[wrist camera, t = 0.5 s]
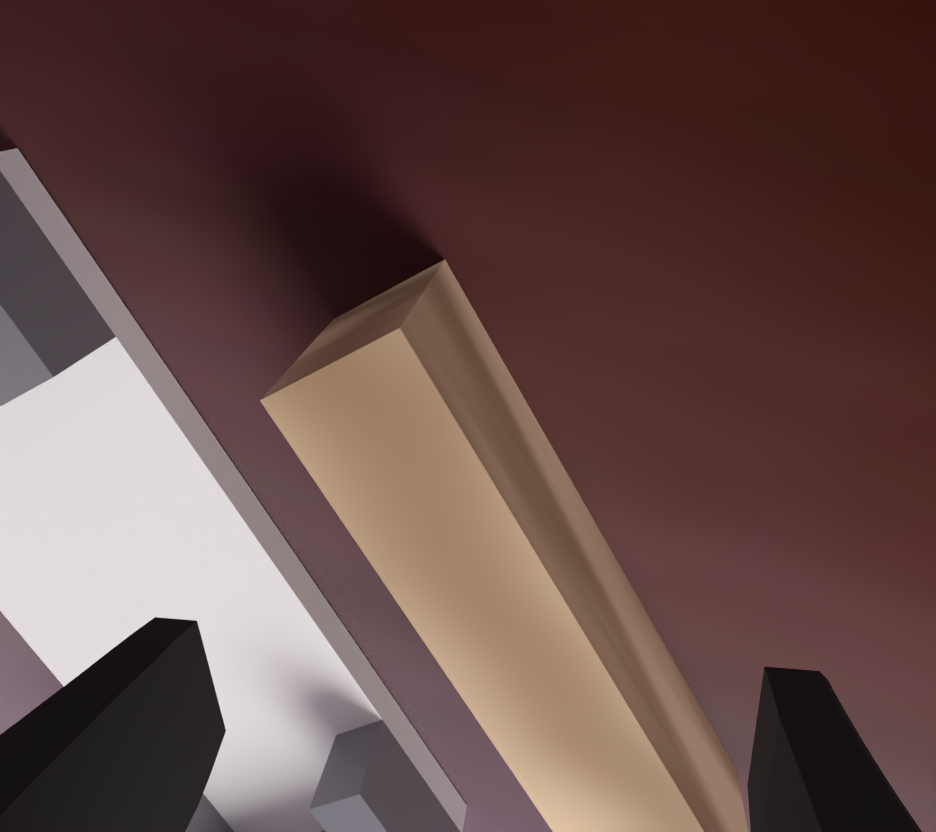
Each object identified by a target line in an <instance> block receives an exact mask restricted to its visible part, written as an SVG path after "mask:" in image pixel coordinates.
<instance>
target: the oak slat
mask: <svg viewBox="0 0 936 832" xmlns="http://www.w3.org/2000/svg"><path fill="white" fill-rule="evenodd" d="M260 401H261V403H262V404H263V406H264V407H265V409H266V410H267V412H268V413H269V415H270V416H271V417H272V419H273V420H274V422H275V423H276V425H277V426H278V428H279V429H280V431H281V432H282V434H283V435H284V437H285V438H286V440H287V441H288V442H289V444H290V445H291V447H292V448H293V450H294V451H295V453H296V454H297V456H298V457H299V459H300V460H301V462H302V463H303V465H304V466H305V467H306V469H307V470H308V472H309V473H310V475H311V476H312V478H313V479H314V481H315V482H316V484H317V485H318V487H319V488H320V490H321V491H322V493H323V494H324V495H325V497H326V498H327V500H328V501H329V503H330V504H331V506H332V507H333V509H334V510H335V512H336V513H337V515H338V516H339V518H340V519H341V520H342V522H343V523H344V525H345V526H346V528H347V529H348V531H349V532H350V534H351V535H352V537H353V538H354V540H355V541H356V543H357V544H358V545H359V547H360V548H361V550H362V551H363V553H364V554H365V556H366V557H367V559H368V560H369V562H370V563H371V565H372V566H373V568H374V569H375V571H376V572H377V573H378V575H379V576H380V578H381V579H382V581H383V582H384V584H385V585H386V587H387V588H388V590H389V591H390V593H391V594H392V596H393V597H394V598H395V600H396V601H397V603H398V604H399V606H400V607H401V609H402V610H403V612H404V613H405V615H406V616H407V618H408V619H409V621H410V622H411V624H412V625H413V626H414V628H415V629H416V631H417V632H418V634H419V635H420V637H421V638H422V640H423V641H424V643H425V644H426V646H427V647H428V649H429V650H430V651H431V653H432V654H433V656H434V657H435V659H436V660H437V662H438V663H439V665H440V666H441V668H442V669H443V671H444V672H445V674H446V675H447V676H448V678H449V679H450V681H451V682H452V684H453V685H454V687H455V688H456V690H457V691H458V693H459V694H460V696H461V697H462V699H463V700H464V702H465V703H466V704H467V706H468V707H469V709H470V710H471V712H472V713H473V715H474V716H475V718H476V719H477V721H478V722H479V724H480V725H481V727H482V728H483V729H484V731H485V732H486V734H487V735H488V737H489V738H490V740H491V741H492V743H493V744H494V746H495V747H496V749H497V750H498V752H499V753H500V754H501V756H502V757H503V759H504V760H505V762H506V763H507V765H508V766H509V768H510V769H511V771H512V772H513V774H514V775H515V777H516V778H517V780H518V781H519V782H520V784H521V785H522V787H523V788H524V790H525V791H526V793H527V794H528V796H529V797H530V799H531V800H532V802H533V803H534V805H535V806H536V807H537V809H538V810H539V812H540V813H541V815H542V816H543V818H544V819H545V821H546V822H547V824H548V825H549V827H550V828H551V830H552V831H553V832H748V829H747V823H746V818H745V813H744V807H743V802H742V797H741V791H740V786H739V781H738V775H737V770H736V769H735V767H734V765H733V763H732V762H731V760H730V758H729V756H728V755H727V753H726V751H725V749H724V748H723V746H722V744H721V742H720V741H719V739H718V737H717V735H716V734H715V732H714V730H713V728H712V727H711V725H710V723H709V721H708V720H707V718H706V716H705V714H704V713H703V711H702V709H701V707H700V706H699V704H698V702H697V700H696V699H695V697H694V695H693V693H692V692H691V690H690V688H689V686H688V685H687V683H686V681H685V679H684V678H683V676H682V674H681V672H680V671H679V669H678V667H677V665H676V664H675V662H674V660H673V658H672V657H671V655H670V653H669V651H668V650H667V648H666V646H665V644H664V643H663V641H662V639H661V637H660V636H659V634H658V632H657V630H656V628H655V627H654V625H653V623H652V621H651V620H650V618H649V616H648V614H647V613H646V611H645V609H644V607H643V606H642V604H641V602H640V600H639V599H638V597H637V595H636V593H635V592H634V590H633V588H632V586H631V585H630V583H629V581H628V579H627V578H626V576H625V574H624V572H623V571H622V569H621V567H620V565H619V564H618V562H617V560H616V558H615V557H614V555H613V553H612V551H611V550H610V548H609V546H608V544H607V543H606V541H605V539H604V537H603V536H602V534H601V532H600V530H599V529H598V527H597V525H596V523H595V522H594V520H593V518H592V516H591V515H590V513H589V511H588V509H587V508H586V506H585V504H584V502H583V501H582V499H581V497H580V495H579V494H578V492H577V490H576V488H575V487H574V485H573V483H572V481H571V480H570V478H569V476H568V474H567V473H566V471H565V469H564V467H563V466H562V464H561V462H560V460H559V459H558V457H557V455H556V453H555V452H554V450H553V448H552V446H551V445H550V443H549V441H548V439H547V438H546V436H545V434H544V432H543V430H542V429H541V427H540V425H539V423H538V422H537V420H536V418H535V416H534V415H533V413H532V411H531V409H530V408H529V406H528V404H527V402H526V401H525V399H524V397H523V395H522V394H521V392H520V390H519V388H518V387H517V385H516V383H515V381H514V380H513V378H512V376H511V374H510V373H509V371H508V369H507V367H506V366H505V364H504V362H503V360H502V359H501V357H500V355H499V353H498V352H497V350H496V348H495V346H494V345H493V343H492V341H491V339H490V338H489V336H488V334H487V332H486V331H485V329H484V327H483V325H482V324H481V322H480V320H479V318H478V317H477V315H476V313H475V311H474V310H473V308H472V306H471V304H470V303H469V301H468V299H467V297H466V296H465V294H464V292H463V290H462V289H461V287H460V285H459V283H458V282H457V280H456V278H455V276H454V275H453V273H452V271H451V269H450V268H449V266H448V264H447V262H446V261H445V259H444V260H443V261H441V262H439V263H437V264H435V265H433V266H431V267H430V268H428V269H426V270H424V271H422V272H420V273H418V274H417V275H415V276H413V277H411V278H409V279H407V280H405V281H404V282H402V283H400V284H398V285H396V286H394V287H393V288H391V289H389V290H387V291H385V292H383V293H381V294H380V295H378V296H376V297H374V298H372V299H370V300H368V301H367V302H365V303H363V304H361V305H359V306H357V307H355V308H354V309H352V310H350V311H348V312H346V313H344V314H342V315H341V316H339V317H337V318H335V319H333V320H332V321H331V322H330V324H329V325H328V326H327V327H326V328H325V329H324V330H323V331H322V332H321V334H320V335H319V336H318V337H317V338H316V339H315V340H314V341H313V342H312V343H311V345H310V346H309V347H308V348H307V349H306V350H305V351H304V352H303V353H302V355H301V356H300V357H299V358H298V359H297V360H296V361H295V362H294V363H293V365H292V366H291V367H290V368H289V369H288V370H287V371H286V372H285V373H284V374H283V376H282V377H281V378H280V379H279V380H278V381H277V382H276V383H275V384H274V386H273V387H272V388H271V389H270V390H269V391H268V392H267V393H266V394H265V396H264V397H263V398H262V399H261V400H260Z"/></svg>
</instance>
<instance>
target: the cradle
mask: <svg viewBox="0 0 936 832" xmlns="http://www.w3.org/2000/svg"><path fill="white" fill-rule="evenodd" d="M0 611H1V612H2V613H3V614H4V616H5V617H6V618H7V619H8V620H9V622H10V623H11V624H12V625H13V626H14V628H15V629H16V630H17V631H18V632H19V634H20V635H21V636H22V637H23V638H24V640H25V641H26V642H27V643H28V644H29V646H30V647H31V648H32V649H33V650H34V652H35V653H36V654H37V655H38V656H39V657H40V659H41V660H42V661H43V662H44V663H45V665H46V666H47V667H48V668H49V669H50V671H51V672H52V673H53V674H54V675H55V677H56V678H57V679H58V680H59V681H60V683H61V684H62V685H63V686H65V685H67V684H68V683H69V682H71V681H72V680H73V679H74V678H76V677H77V676H78V675H80V674H81V673H82V672H83V671H85V670H86V669H87V668H89V667H90V666H91V665H92V664H94V663H95V662H96V661H98V660H99V659H100V658H101V657H103V656H104V655H105V654H107V653H108V652H109V651H110V650H112V649H113V648H114V647H116V646H117V645H118V644H119V643H121V642H122V641H123V640H125V639H126V638H127V637H129V636H130V635H131V634H133V633H134V632H135V631H137V630H138V629H139V628H141V627H142V626H144V625H145V624H146V623H148V622H149V621H150V620H152V619H153V618H155V617H158V618H170V619H183V620H195V621H197V622H198V626H199V630H200V634H201V638H202V641H203V645H204V649H205V653H206V657H207V660H208V664H209V668H210V672H211V676H212V680H213V683H214V687H215V691H216V695H217V699H218V702H219V706H220V710H221V714H222V718H223V721H224V725H225V729H226V732H225V735H224V738H223V741H222V743H221V746H220V749H219V752H218V755H217V758H216V760H215V763H214V766H213V769H212V772H211V774H210V777H209V779H208V782H207V784H206V787H205V790H204V792H203V795H202V797H201V800H200V802H199V805H198V807H197V809H196V811H195V813H194V815H193V817H192V819H191V821H190V823H189V825H188V827H187V829H186V831H185V832H462V831H463V825H464V819H465V813H466V807H467V805H466V804H465V802H464V801H463V799H462V798H461V796H460V795H459V793H458V792H457V790H456V789H455V787H454V786H453V785H452V783H451V782H450V780H449V779H448V777H447V776H446V774H445V773H444V771H443V770H442V768H441V767H440V766H439V764H438V763H437V761H436V760H435V758H434V757H433V755H432V754H431V752H430V751H429V749H428V748H427V747H426V745H425V744H424V742H423V741H422V739H421V738H420V736H419V735H418V733H417V732H416V730H415V729H414V727H413V726H412V725H411V723H410V722H409V720H408V719H407V717H406V716H405V714H404V713H403V711H402V710H401V708H400V707H399V706H398V704H397V703H396V701H395V700H394V698H393V697H392V695H391V694H390V692H389V691H388V689H387V688H386V687H385V685H384V684H383V682H382V681H381V679H380V678H379V676H378V675H377V673H376V672H375V670H374V669H373V668H372V666H371V665H370V663H369V662H368V660H367V659H366V657H365V656H364V654H363V653H362V651H361V650H360V648H359V647H358V646H357V644H356V643H355V641H354V640H353V638H352V637H351V635H350V634H349V632H348V631H347V629H346V628H345V627H344V625H343V624H342V622H341V621H340V619H339V618H338V616H337V615H336V613H335V612H334V610H333V609H332V608H331V606H330V605H329V603H328V602H327V600H326V599H325V597H324V596H323V594H322V593H321V591H320V590H319V589H318V587H317V586H316V584H315V583H314V581H313V580H312V578H311V577H310V575H309V574H308V572H307V571H306V569H305V568H304V567H303V565H302V564H301V562H300V561H299V559H298V558H297V556H296V555H295V553H294V552H293V550H292V549H291V548H290V546H289V545H288V543H287V542H286V540H285V539H284V537H283V536H282V534H281V533H280V531H279V530H278V529H277V527H276V526H275V524H274V523H273V521H272V520H271V518H270V517H269V515H268V514H267V512H266V511H265V510H264V508H263V507H262V505H261V504H260V502H259V501H258V499H257V498H256V496H255V495H254V493H253V492H252V490H251V489H250V488H249V486H248V485H247V483H246V482H245V480H244V479H243V477H242V476H241V474H240V473H239V471H238V470H237V469H236V467H235V466H234V464H233V463H232V461H231V460H230V458H229V457H228V455H227V454H226V452H225V451H224V450H223V448H222V447H221V445H220V444H219V442H218V441H217V439H216V438H215V436H214V435H213V433H212V432H211V431H210V429H209V428H208V426H207V425H206V423H205V422H204V420H203V419H202V417H201V416H200V414H199V413H198V411H197V410H196V409H195V407H194V406H193V404H192V403H191V401H190V400H189V398H188V397H187V395H186V394H185V392H184V391H183V390H182V388H181V387H180V385H179V384H178V382H177V381H176V379H175V378H174V376H173V375H172V373H171V372H170V371H169V369H168V368H167V366H166V365H165V363H164V362H163V360H162V359H161V357H160V356H159V354H158V353H157V352H156V350H155V349H154V347H153V346H152V344H151V343H150V341H149V340H148V338H147V337H146V335H145V334H144V332H143V331H142V330H141V328H140V327H139V325H138V324H137V322H136V321H135V319H134V318H133V316H132V315H131V313H130V312H129V311H128V309H127V308H126V306H125V305H124V303H123V302H122V300H121V299H120V297H119V296H118V294H117V293H116V292H115V290H114V289H113V287H112V286H111V284H110V283H109V281H108V280H107V278H106V277H105V275H104V274H103V273H102V271H101V270H100V268H99V267H98V265H97V264H96V262H95V261H94V259H93V258H92V256H91V255H90V253H89V252H88V251H87V249H86V248H85V246H84V245H83V243H82V242H81V240H80V239H79V237H78V236H77V234H76V233H75V232H74V230H73V229H72V227H71V226H70V224H69V223H68V221H67V220H66V218H65V217H64V215H63V214H62V213H61V211H60V210H59V208H58V207H57V205H56V204H55V202H54V201H53V199H52V198H51V196H50V195H49V194H48V192H47V191H46V189H45V188H44V186H43V185H42V183H41V182H40V180H39V179H38V177H37V176H36V174H35V173H34V172H33V170H32V169H31V167H30V166H29V164H28V163H27V161H26V160H25V158H24V157H23V155H22V154H21V153H20V151H19V150H18V148H16V149H11V150H6V151H1V152H0Z"/></svg>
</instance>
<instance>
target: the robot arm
mask: <svg viewBox="0 0 936 832" xmlns="http://www.w3.org/2000/svg"><path fill="white" fill-rule="evenodd" d="M225 732H226V729H225V725H224V721H223V718H222V714H221V710H220V706H219V702H218V699H217V695H216V691H215V687H214V683H213V680H212V676H211V672H210V668H209V664H208V660H207V657H206V653H205V649H204V645H203V641H202V638H201V634H200V630H199V626H198V622H197V621H195V620H183V619H170V618H158V617H155V618H153V619H152V620H150V621H149V622H148V623H146V624H145V625H144V626H142V627H141V628H139V629H138V630H137V631H135V632H134V633H133V634H131V635H130V636H129V637H127V638H126V639H125V640H123V641H122V642H121V643H119V644H118V645H117V646H116V647H114V648H113V649H112V650H110V651H109V652H108V653H107V654H105V655H104V656H103V657H101V658H100V659H99V660H98V661H96V662H95V663H94V664H92V665H91V666H90V667H89V668H87V669H86V670H85V671H83V672H82V673H81V674H80V675H78V676H77V677H76V678H74V679H73V680H72V681H71V682H69V683H68V684H67V685H65V686H64V687H63V688H61V689H60V690H59V691H57V692H56V693H55V694H54V695H52V696H51V697H50V698H48V699H47V700H46V701H44V702H43V703H42V704H40V705H39V706H38V707H37V708H35V709H34V710H33V711H31V712H30V713H29V714H27V715H26V716H25V717H23V718H22V719H21V720H19V721H18V722H17V723H16V724H14V725H13V726H12V727H10V728H9V729H8V730H6V731H5V732H4V733H2V734H1V735H0V832H185V831H186V829H187V827H188V825H189V823H190V821H191V819H192V817H193V815H194V813H195V811H196V809H197V807H198V805H199V802H200V800H201V797H202V795H203V792H204V790H205V787H206V784H207V782H208V779H209V777H210V774H211V772H212V769H213V766H214V763H215V760H216V758H217V755H218V752H219V749H220V746H221V743H222V741H223V738H224V735H225ZM748 798H749V812H750V825H751V832H922V831H921V830H920V828H919V827H918V825H917V824H916V822H915V821H914V820H913V818H912V817H911V815H910V814H909V812H908V811H907V809H906V808H905V806H904V805H903V803H902V802H901V801H900V799H899V798H898V796H897V794H896V793H895V791H894V790H893V788H892V787H891V785H890V784H889V782H888V781H887V779H886V778H885V776H884V774H883V773H882V771H881V770H880V768H879V766H878V765H877V763H876V762H875V760H874V758H873V757H872V755H871V754H870V752H869V750H868V749H867V747H866V746H865V744H864V742H863V741H862V739H861V737H860V736H859V734H858V732H857V731H856V729H855V727H854V726H853V724H852V722H851V721H850V719H849V717H848V715H847V714H846V712H845V710H844V708H843V707H842V705H841V703H840V701H839V700H838V698H837V696H836V694H835V692H834V691H833V689H832V687H831V685H830V683H829V681H828V680H827V679H826V678H825V676H824V675H823V674H822V673H821V672H820V671H811V670H798V669H786V668H774V667H764V674H763V681H762V688H761V695H760V702H759V709H758V716H757V723H756V730H755V737H754V744H753V751H752V758H751V765H750V772H749V779H748Z"/></svg>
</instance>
